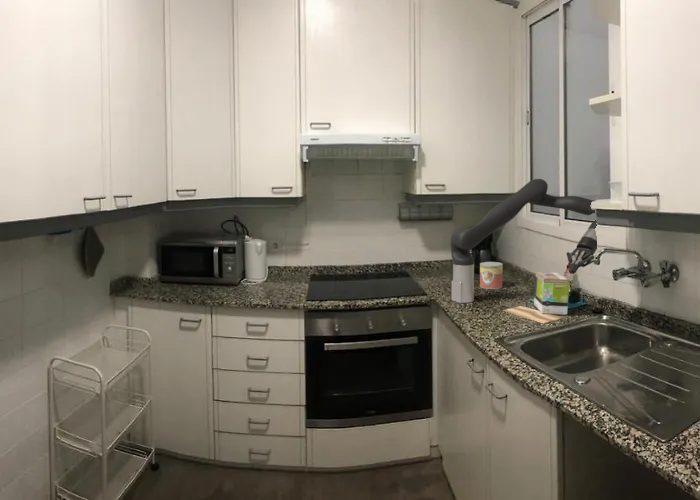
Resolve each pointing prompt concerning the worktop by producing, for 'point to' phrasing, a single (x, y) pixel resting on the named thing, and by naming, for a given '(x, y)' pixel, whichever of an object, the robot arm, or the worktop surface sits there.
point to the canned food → (491, 275)
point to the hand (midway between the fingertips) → (570, 272)
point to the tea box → (551, 293)
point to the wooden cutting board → (533, 314)
